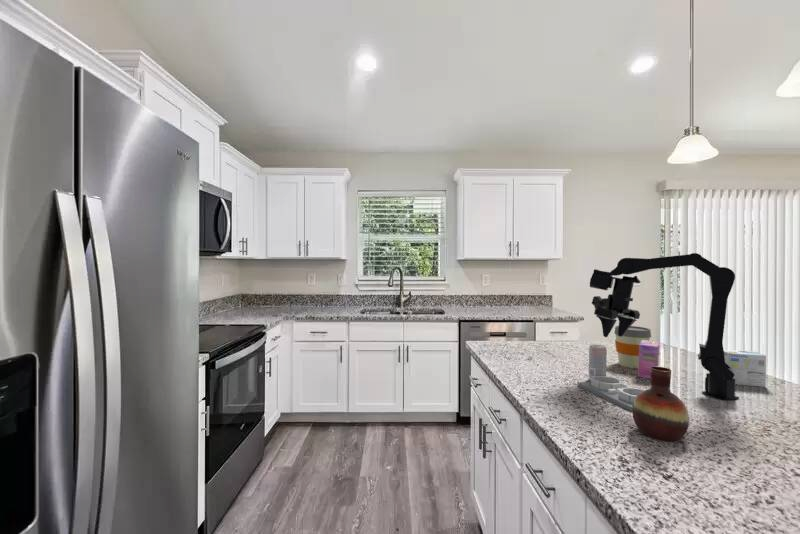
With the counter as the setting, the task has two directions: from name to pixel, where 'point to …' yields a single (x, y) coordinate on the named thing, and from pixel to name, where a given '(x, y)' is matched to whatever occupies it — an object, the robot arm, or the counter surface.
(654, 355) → the box
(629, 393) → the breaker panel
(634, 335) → the reusable coffee cup
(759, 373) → the light bulb box
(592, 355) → the energy drink
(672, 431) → the vase
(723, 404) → the counter surface
